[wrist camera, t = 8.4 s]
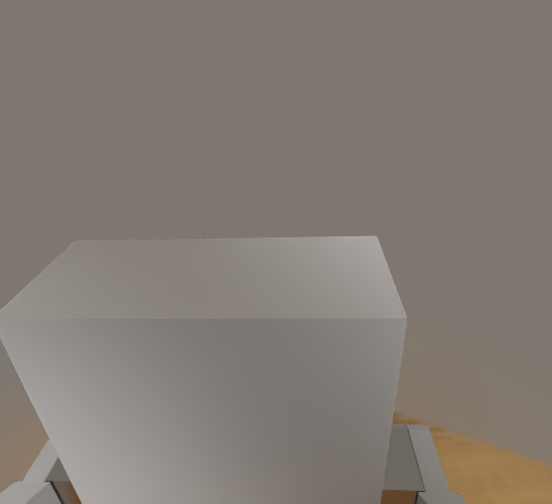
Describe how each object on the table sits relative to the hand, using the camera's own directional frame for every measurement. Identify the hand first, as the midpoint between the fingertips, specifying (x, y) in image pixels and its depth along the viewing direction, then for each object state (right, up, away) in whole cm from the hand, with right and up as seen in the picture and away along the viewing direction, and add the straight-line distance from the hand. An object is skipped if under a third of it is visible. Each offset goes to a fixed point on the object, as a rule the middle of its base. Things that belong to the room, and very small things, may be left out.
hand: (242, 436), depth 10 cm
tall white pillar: (0, -8, +3) cm, 9 cm away
